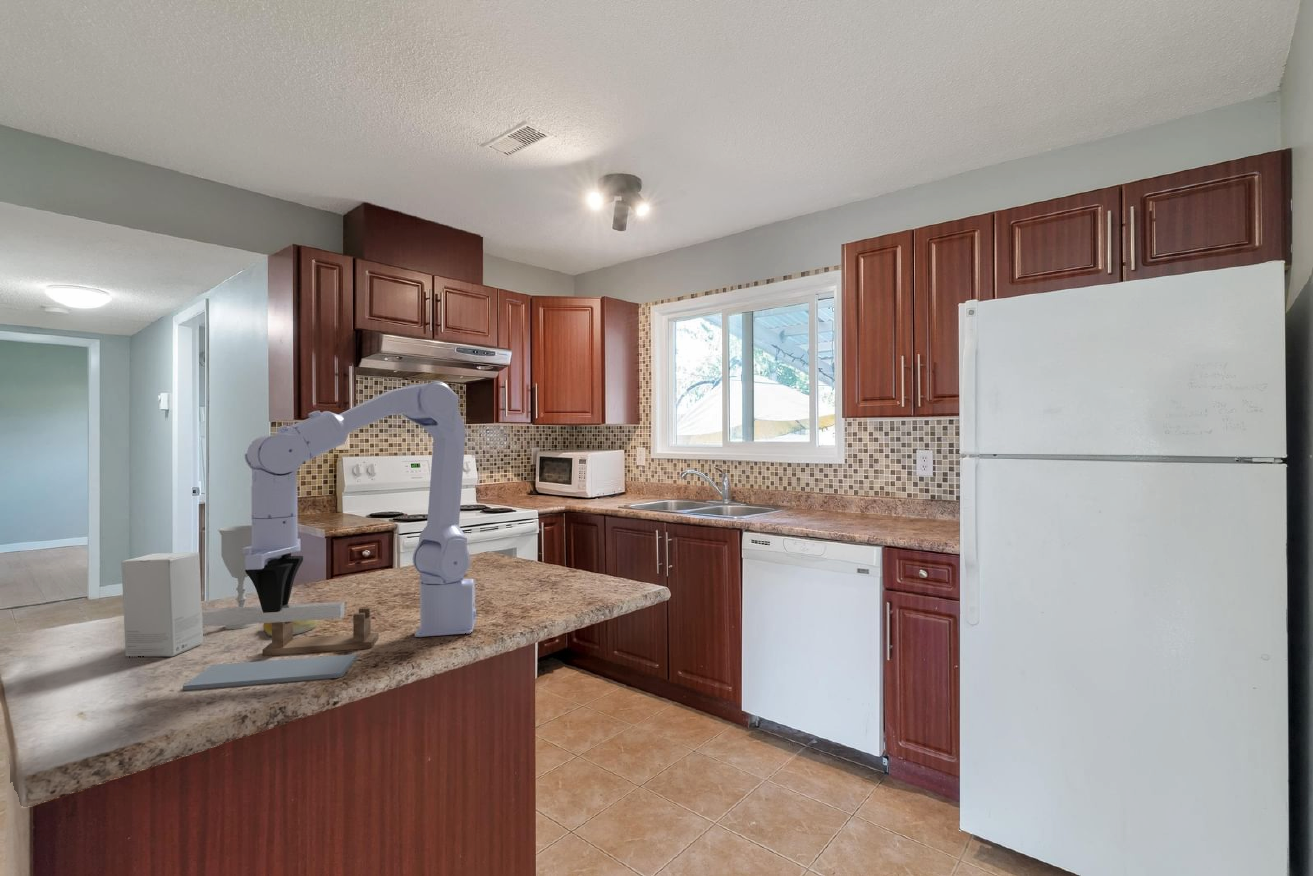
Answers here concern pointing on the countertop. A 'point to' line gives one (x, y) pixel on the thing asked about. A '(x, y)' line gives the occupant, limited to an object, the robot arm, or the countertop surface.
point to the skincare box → (162, 604)
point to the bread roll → (294, 626)
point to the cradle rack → (322, 638)
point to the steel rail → (273, 614)
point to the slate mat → (271, 671)
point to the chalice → (236, 559)
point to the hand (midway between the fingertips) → (275, 609)
